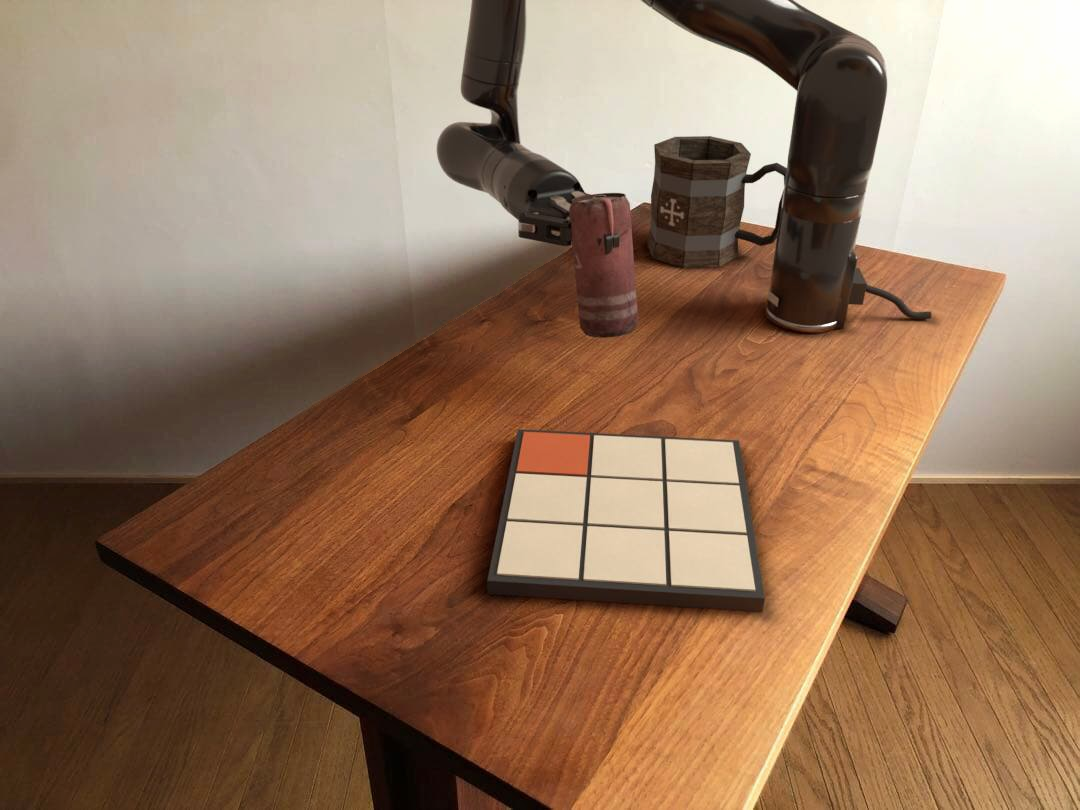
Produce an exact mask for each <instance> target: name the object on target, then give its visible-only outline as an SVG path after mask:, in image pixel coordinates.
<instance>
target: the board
mask: <svg viewBox="0 0 1080 810" xmlns="http://www.w3.org/2000/svg"><path fill="white" fill-rule="evenodd" d="M744 468H745V467H744V462H743V455H742V450H741V443H740V440H738V439H719V438H701V437H700V438H697V437H695V438H694V437H679V436H678V437H677V436H659V435H642V434H641V435H640V434H638V435H637V434H619V433H618V434H617V433H601V432H600V433H599V432H583V431H582V432H581V431H562V430H561V431H559V430H543V429H542V430H540V429H523V428H522V429H521V428H519V429H517V431H516V436H515V441H514V446H513V451H512V456H511V462H510V467H509V472H508V476H507V481H506V487H505V491H504V495H503V501H502V505H501V511H500V516H499V520H498V526H497V531H496V535H495V540H494V546H493V550H492V554H491V561H490V565H489V570H488V573H487V574H488V575H487V580H486V584H487V586H486V588H487V595H494V596H495V595H496V596H509V597H511V596H512V597H528V598H539V599H540V598H541V599H557V600H574V601H589V602H601V603H602V602H603V603H605V602H606V603H620V604H632V605H633V604H634V605H649V606H650V605H651V606H666V607H679V608H681V607H682V608H695V609H696V608H697V609H711V610H725V611H726V610H727V611H740V612H741V611H742V612H758V613H763V612H764V606H765V600H766V597H765V596H766V595H765V589H764V584H763V578H762V573H761V566H760V559H759V554H758V548H757V541H756V535H755V530H754V529H755V528H754V523H753V517H752V510H751V505H750V499H749V494H748V493H749V491H748V487H747V481H746V474H745V469H744Z"/></svg>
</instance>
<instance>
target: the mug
mask: <svg viewBox="0 0 1080 810" xmlns="http://www.w3.org/2000/svg"><path fill="white" fill-rule="evenodd" d="M653 147H654V148H653V149H654V150H653V151H654V172H653V181H652V188H651V194H650V227H649V234H648V238H647V244H646V245H647V248H648V250H649V252H650V254H651V257H652V259H655V260H657V261H659V262H660V261H661V262H663V263H665V264H666V263H667V264H670V265H673V266H676V267H678V268H682V269H691V268H692V269H694V268H695V269H696V268H697V269H698V268H720V267H722V266H723V265H725V264H726V263H729V262H731V261H732V260H734V259H736V258H737V257H738V256H739V240H742V241H745V242H748V243H752V244H755V245H757V246H760V247H763V246H767V245H771V244H774V243H775V242H776V241H777V234H778V227H779V221H780V214H781V207H782V200H783V193H784V189H783V190H782V193H781V196H780V199H779V202H778V208H777V212H776V220H775V225H774V229H773V230H772V232H771V234H770V235H766V236H761V235H758V234H757V233H754V232H752V231H749V230H745V229H741V228H740V226H741V223H742V222H741V221H742V218H743V213H744V209H745V194H746V193H745V190H746V184H755V183H756V182H758V181H760V180H761V179H762V178H763V177H765V175H767V174H771V173H773V172H775V173H778V174H780V175H781V176H783V187H784V186H785V179H786V172H787V166H784V165H782V164H780V163H778V162H774V163H769V164H765V165H763V166H762V167H761V168H759V169H758V170H757V171H755V172H754V173H752V174H751V173H750V174H749V173H748V168H749V165H750V161H751V160H750V159H751V155H752V153H751V152H750V151H749V150H748V148H746V146H745V145H744V144H743V143H742V142H740V141H734V140H730V139H726V138H721V137H716V136H711V135H708V136H707V135H702V136H701V135H700V136H698V135H697V136H694V135H693V136H673V137H671V138H668V139H665V140H663V141H659V142H657V143H655V144H654V145H653ZM747 173H748V174H747Z"/></svg>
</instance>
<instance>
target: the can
mask: <svg viewBox="0 0 1080 810" xmlns="http://www.w3.org/2000/svg"><path fill="white" fill-rule="evenodd" d="M569 214H570V222H571V228H572V241H571V246H572V255H573V268H574V277H575V287H576V296H577V297H576V298H577V308H578V318H579V328H580V330H581V331H582V332H583V333H584V335H585V336H588V337H591V338H601V339H605V338H606V339H607V338H616V337H621V336H625V335H626V336H627V335H628V334H631V333H633V332H634V331H635V330H636V329H637V327H638V325H639V314H638V299H637V286H636V285H637V284H636V271H635V258H634V257H635V256H634V245H633V244H634V242H633V230H632V228H633V227H632V215H631V204H630V201H629V199H628V198H627V195H626V194H625V193H622V192H603V193H594V194H592V193H591V195H586V196H581V197H577V198H574V199H572V203H571V206H570V208H569ZM617 233H618V234H619V237H620V242H619V247H616V248H613V244H612V251H611V252H610V253H609V254H607V255H605V242H604V235H605V234H611V235H612V238H613V234H617ZM597 238H599V239H602V240H601V243H600V246H598V242H597Z"/></svg>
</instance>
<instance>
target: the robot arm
mask: <svg viewBox="0 0 1080 810" xmlns="http://www.w3.org/2000/svg"><path fill="white" fill-rule="evenodd" d="M640 2H642V3H643V4H644V5H645V6H647V7H648V8H651V9H652V10H653V11H654V12H656V13H658V14H659V15H660V16H662V17H663V18H665V19H666V20H668V21H670V22H671V23H672V24H674V25H676V26H677V27H678V28H681V29H683V30H684V31H686V32H687V33H690V34H692V35H694V36H697V37H698V38H701V39H703V40H705V41H708V42H709V43H713V44H716V45H718V46H720V47H723V48H726V49H729V50H732V51H734V52H737V53H740V54H743V55H745V56H746V57H749V58H751V59H753V60H755V61H756V62H758V63H760V64H761V65H763V66H764V67H766V68H767V69H768V70H770V71H771V72H772V73H774V74H776V75H777V76H778V77H779V78H781V79H782V80H784V81H785V83H787V84H788V85H789V86H790V87H792V88H793V89H794V91H796V98H795V105H794V113H793V118H792V119H793V120H792V125H791V133H790V140H789V146H788V147H789V148H788V153H787V165H786V168H787V172H786V179H785V186H784V185H783V187H784V188H783V190H784V193H783V192H782V193H783V200H782V207H781V214H780V221H779V227H778V234H777V239H776V240H775V249H774V254H773V262H772V269H771V275H770V280H769V281H770V282H769V289H768V293H767V300H766V301H767V302H766V305H765V312H764V313H765V316H766V318H767V319H768V320H769V321H770V322H771V323H773V324H774V325H776V326H778V327H780V328H783V329H785V330H788V331H793V332H800V333H808V334H809V333H811V334H815V333H816V334H817V333H825V332H829V331H833V330H835V329H845V326H846V319H847V315H848V309H849V305H856V306H863V305H864V300H865V295H866V293H867V294H870V295H874V296H877V297H880V298H882V299H885V300H887V301H889V302H891V303H893V304H894V305H895V306H896V307H897V309H898V310H899V311H900V313H902V314H903V315H904V316H905V317H908V318H909V319H911V320H930V319H932V311H913V310H911V309H910V308H909V307H908V306H907V305H906V304H905V302H904V301H903V300H902V299H901V298H900V297H898V296H897V295H895V294H893V293H891V292H889V291H887V290H884V289H882V288H878V287H876V286H873V285H870V284H868V283H867V281H866V279H865V277H864V275H863V273H862V271H861V268H860V267H857V265H858V258H859V257H858V255H857V252H856V251H855V249H856V243H857V240H858V239H857V238H858V233H859V228H860V223H861V218H862V212H863V207H864V202H865V198H866V193H867V187H868V182H869V178H870V174H871V171H872V168H873V164H874V161H875V160H874V159H875V155H876V149H877V145H878V140H879V135H880V131H881V126H882V120H883V116H884V111H885V106H886V102H887V101H886V99H887V95H888V94H887V93H888V72H887V71H888V70H887V65H886V62H885V61H886V60H885V58H884V57H883V55H882V52H881V51H880V50H879V49H878V48H877V46H876V45H875V44H873V43H872V42H871V41H870V40H868V39H867V38H865V37H863V36H861V35H858V34H857V33H854V32H853V31H851V30H849V29H847V28H845V27H842V26H841V25H839V24H836V23H835V22H832V21H831V20H828V19H827V18H825V17H823V16H821V15H819V14H818V13H816V12H814V11H812V10H811V9H808V8H806V7H805V6H803V5H802V4H799V3H798V2H797V1H795V0H640ZM470 4H471V5H470V14H469V21H468V29H467V36H466V43H465V47H464V48H465V49H464V57H463V64H462V71H461V72H462V73H461V79H460V94H461V97H462V98H463V100H465V101H466V102H467V103H469V104H471V105H473V106H476V107H479V108H483V109H486V110H489V112H490V117H491V119H490V123H489V122H472V121H471V122H470V121H457V122H453V123H451V124H448V125H447V126H446V127H445V128H444V129H443V130H442V131H441V133H440V135H439V136H438V139H437V142H436V156H437V161H438V164H439V166H440V168H441V170H442V171H443V172H444V174H445V175H446V176H447V177H448V178H449V179H450V180H452V182H455V183H457V184H460V185H462V186H465V187H468V188H470V189H473V190H476V191H479V192H483V193H486V194H488V195H489V196H490V197H492V198H493V199H494V200H495V201H497V202H498V203H499V204H500V205H501V206H502V208H503V209H504V210H505V211H506V212H507V213H509V214H510V215H511V216H512V217H513V218H515V219H516V220H517V222H518V223H517V224H518V229H517V230H518V237H519V238H520V239H526V240H531V241H536V242H540V243H546V244H552V245H557V246H561V247H569V246H572V228H571V222H570V214H569V208H570V206H571V203H572V199H574V198H577V197H581V196H586V195H592V193H591V194H590V193H587V192H586V191H585V189H584V188H583V187H582V184H581V182H580V181H579V179H578V178H577V177H576V176H575V175H574V174H573V173H572V172H570V171H568V170H566V169H565V168H563V167H561V166H560V165H558V164H556V163H555V162H554V161H552V160H550V159H549V158H547V157H546V156H544V155H542V154H539V153H536V152H533V151H532V150H530V149H529V148H527V147H526V146H524V145H522V141H521V133H520V122H519V105H518V104H519V103H518V93H519V92H518V91H519V86H520V81H521V74H522V68H523V63H524V56H525V49H526V41H527V40H526V39H527V21H528V19H527V17H528V16H527V0H471V3H470ZM601 240H602V239H599V238H597V242H598V246H600V243H601ZM604 242H605V255H607V254H609V253H610V252H611V251H612V244H613V248H616V247H619V242H620V237H619V234H618V233H617V234H613V238H612V235H611V234H605V235H604Z"/></svg>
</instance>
